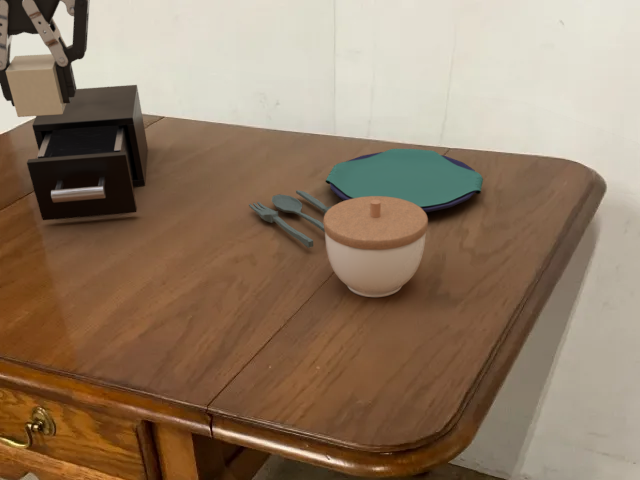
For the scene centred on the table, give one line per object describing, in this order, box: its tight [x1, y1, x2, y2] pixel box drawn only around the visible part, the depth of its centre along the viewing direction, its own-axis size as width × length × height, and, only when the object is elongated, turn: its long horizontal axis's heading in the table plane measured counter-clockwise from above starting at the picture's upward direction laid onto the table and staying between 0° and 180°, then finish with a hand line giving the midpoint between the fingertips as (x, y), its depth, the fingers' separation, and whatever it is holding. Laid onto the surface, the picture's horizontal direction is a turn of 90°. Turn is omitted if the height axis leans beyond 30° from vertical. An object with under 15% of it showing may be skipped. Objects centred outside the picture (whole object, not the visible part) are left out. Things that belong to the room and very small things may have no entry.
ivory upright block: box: [6, 53, 67, 118], centre depth 81 cm, size 5×6×5 cm
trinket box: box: [323, 196, 429, 298], centre depth 81 cm, size 11×11×9 cm
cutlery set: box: [248, 148, 484, 249], centre depth 100 cm, size 20×30×2 cm, turn 122°
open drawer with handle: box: [26, 125, 138, 221], centre depth 98 cm, size 18×12×7 cm, turn 9°
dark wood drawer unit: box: [31, 84, 149, 188], centre depth 108 cm, size 15×13×9 cm
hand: (43, 101), depth 82 cm, fingers closed on ivory upright block, 4 cm apart
